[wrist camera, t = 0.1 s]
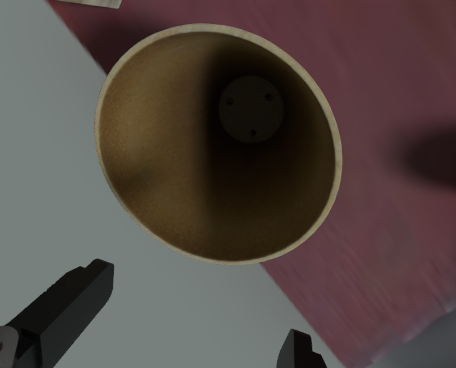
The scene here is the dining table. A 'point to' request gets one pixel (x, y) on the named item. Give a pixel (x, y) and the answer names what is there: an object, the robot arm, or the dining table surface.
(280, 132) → the plant pot
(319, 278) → the dining table surface
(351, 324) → the dining table surface
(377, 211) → the dining table surface
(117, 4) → the shelf
